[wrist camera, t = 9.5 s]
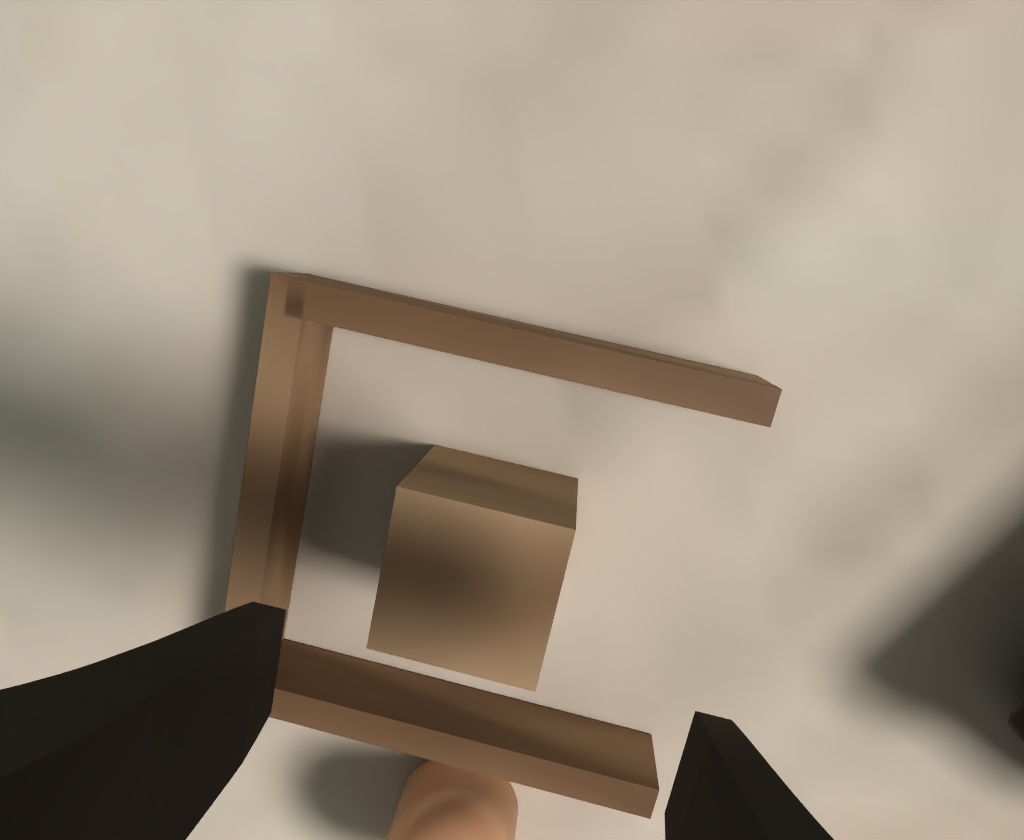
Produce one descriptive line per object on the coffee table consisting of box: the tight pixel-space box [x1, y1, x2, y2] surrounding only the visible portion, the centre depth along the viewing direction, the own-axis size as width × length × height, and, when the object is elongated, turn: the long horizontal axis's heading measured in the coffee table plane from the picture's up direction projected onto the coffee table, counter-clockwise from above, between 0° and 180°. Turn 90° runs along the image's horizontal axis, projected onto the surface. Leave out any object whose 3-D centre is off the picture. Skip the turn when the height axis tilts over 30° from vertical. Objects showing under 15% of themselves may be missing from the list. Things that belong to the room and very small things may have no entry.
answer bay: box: [225, 273, 782, 819], centre depth 20 cm, size 13×14×2 cm
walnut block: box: [367, 445, 578, 691], centre depth 20 cm, size 4×4×4 cm
